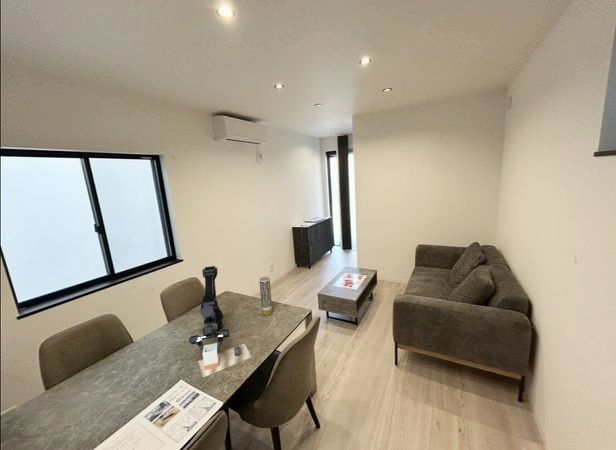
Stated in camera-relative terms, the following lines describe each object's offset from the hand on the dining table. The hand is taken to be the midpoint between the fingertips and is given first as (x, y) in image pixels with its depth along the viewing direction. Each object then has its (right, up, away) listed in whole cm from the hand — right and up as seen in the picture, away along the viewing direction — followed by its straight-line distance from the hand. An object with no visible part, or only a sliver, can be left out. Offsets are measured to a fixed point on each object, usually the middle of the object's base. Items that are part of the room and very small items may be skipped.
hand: (210, 355), depth 124 cm
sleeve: (0, -6, +2) cm, 6 cm away
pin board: (+5, -6, +6) cm, 10 cm away
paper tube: (+20, +3, +50) cm, 54 cm away
